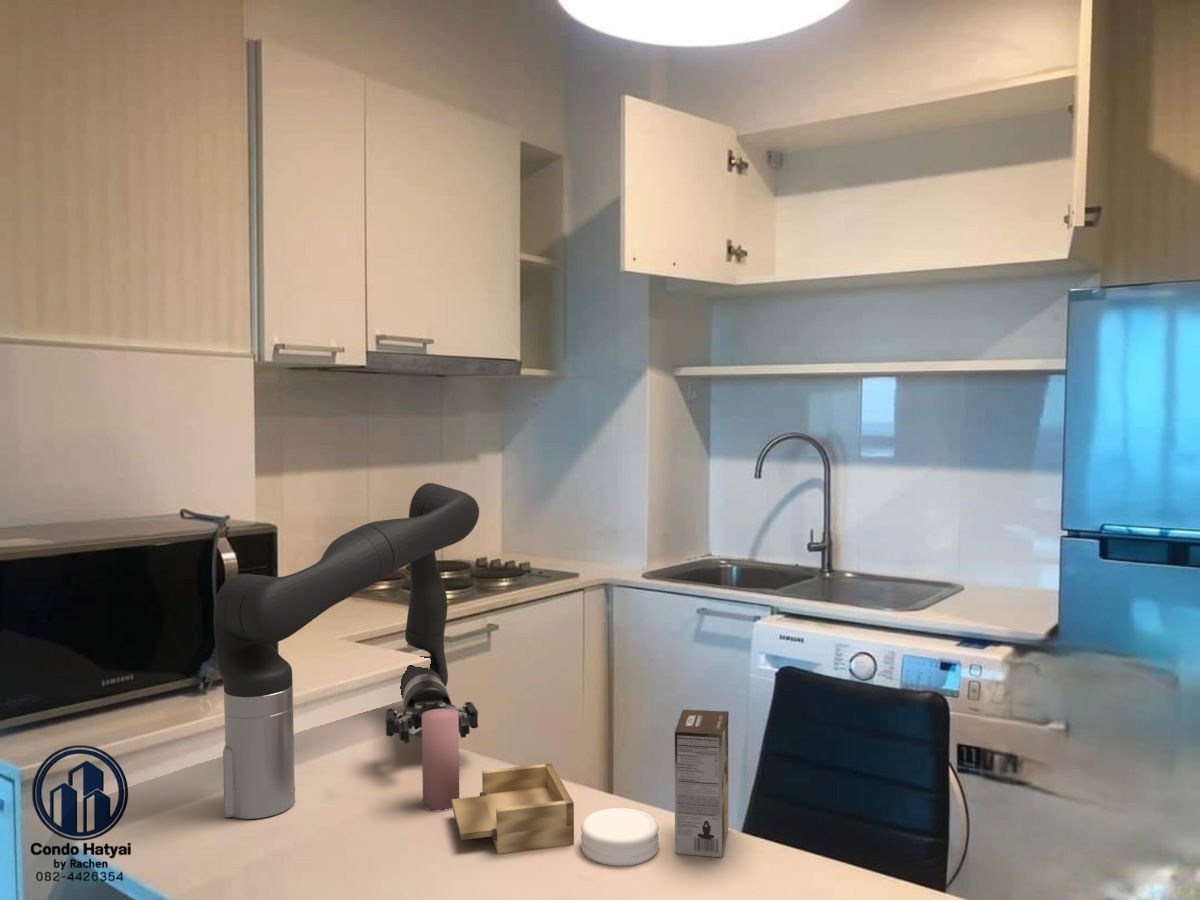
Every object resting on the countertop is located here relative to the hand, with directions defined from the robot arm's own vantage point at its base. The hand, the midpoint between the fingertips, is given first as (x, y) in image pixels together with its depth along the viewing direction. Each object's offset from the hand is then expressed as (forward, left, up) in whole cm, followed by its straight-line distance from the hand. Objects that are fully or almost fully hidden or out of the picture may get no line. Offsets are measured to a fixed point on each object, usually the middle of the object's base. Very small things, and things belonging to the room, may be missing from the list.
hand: (435, 734), depth 143 cm
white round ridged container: (+21, -28, -8) cm, 36 cm away
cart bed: (+8, -18, -8) cm, 21 cm away
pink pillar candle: (0, -8, -8) cm, 11 cm away
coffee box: (+32, -29, -8) cm, 44 cm away
